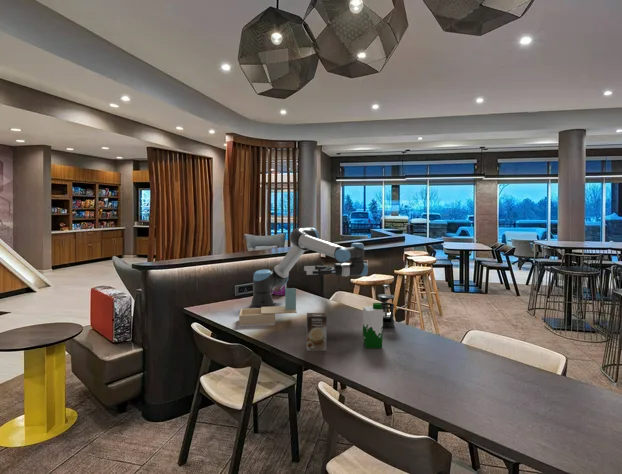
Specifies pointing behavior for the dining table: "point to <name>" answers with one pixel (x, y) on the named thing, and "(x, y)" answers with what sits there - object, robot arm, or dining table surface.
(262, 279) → the robot arm
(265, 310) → the carton lid
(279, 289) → the candy bar box
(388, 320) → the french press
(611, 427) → the dining table surface
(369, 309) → the milk carton
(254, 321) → the carton
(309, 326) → the coffee box
